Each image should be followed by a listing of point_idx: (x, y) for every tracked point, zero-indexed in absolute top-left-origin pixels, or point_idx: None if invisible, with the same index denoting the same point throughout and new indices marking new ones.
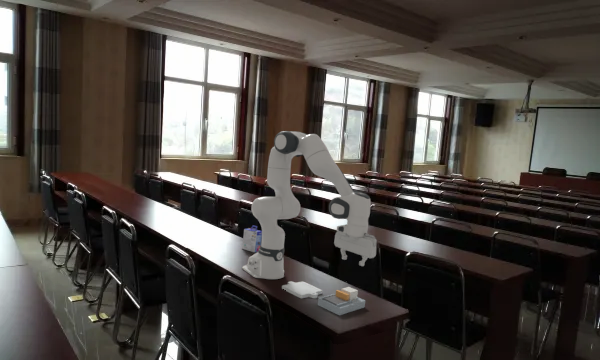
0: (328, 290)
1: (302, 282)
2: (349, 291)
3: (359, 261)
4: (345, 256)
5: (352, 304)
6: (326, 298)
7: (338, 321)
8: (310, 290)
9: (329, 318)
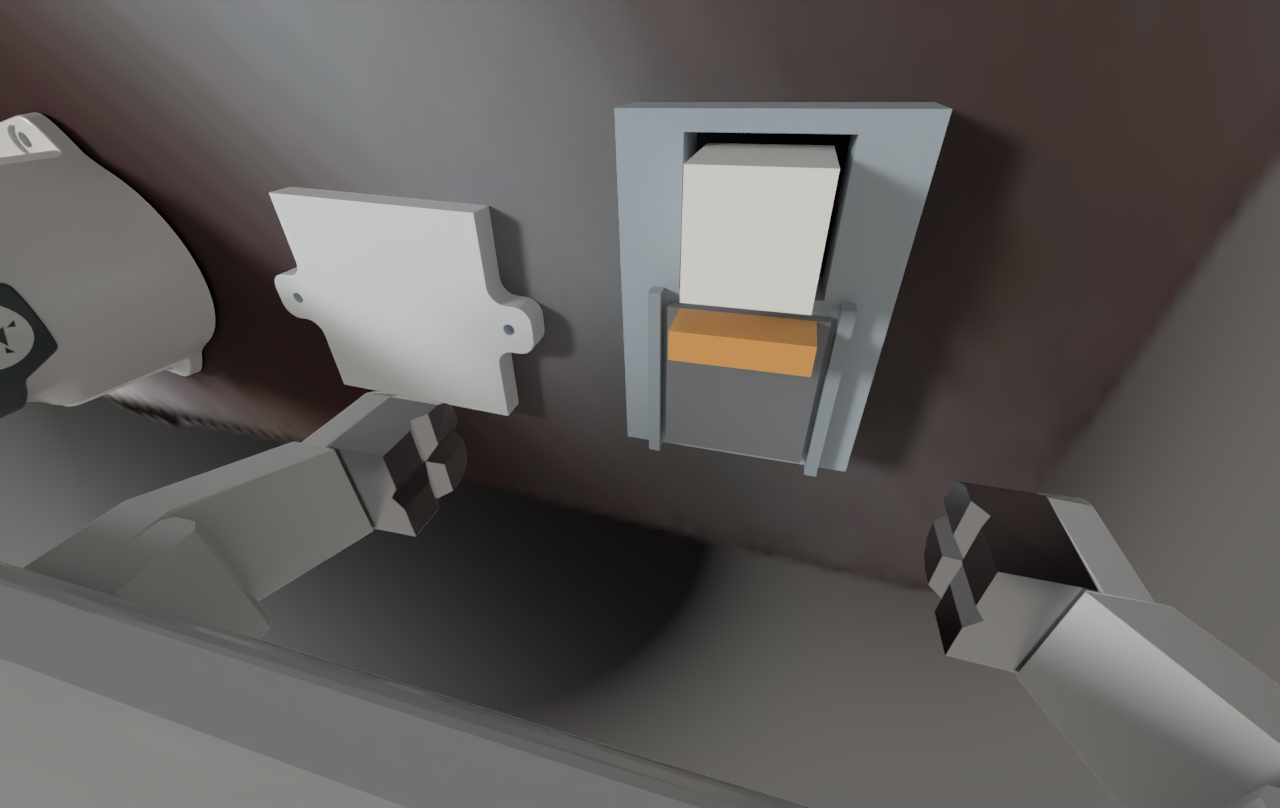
0: (440, 77)
1: (294, 220)
2: (785, 300)
3: (950, 653)
4: (419, 500)
5: (883, 339)
6: (678, 431)
7: (886, 505)
8: (453, 304)
9: (819, 505)
